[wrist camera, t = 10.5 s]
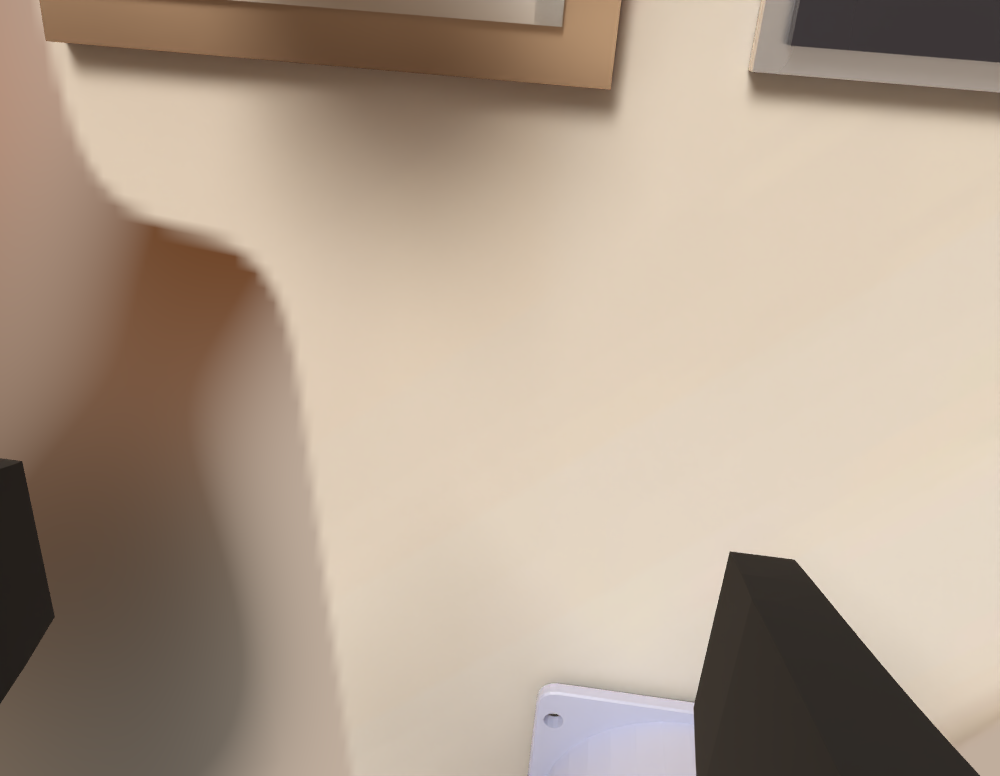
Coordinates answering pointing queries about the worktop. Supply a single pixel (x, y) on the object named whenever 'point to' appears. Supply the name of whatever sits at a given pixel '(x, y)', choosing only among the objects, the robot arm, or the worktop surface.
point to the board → (365, 34)
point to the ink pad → (882, 41)
